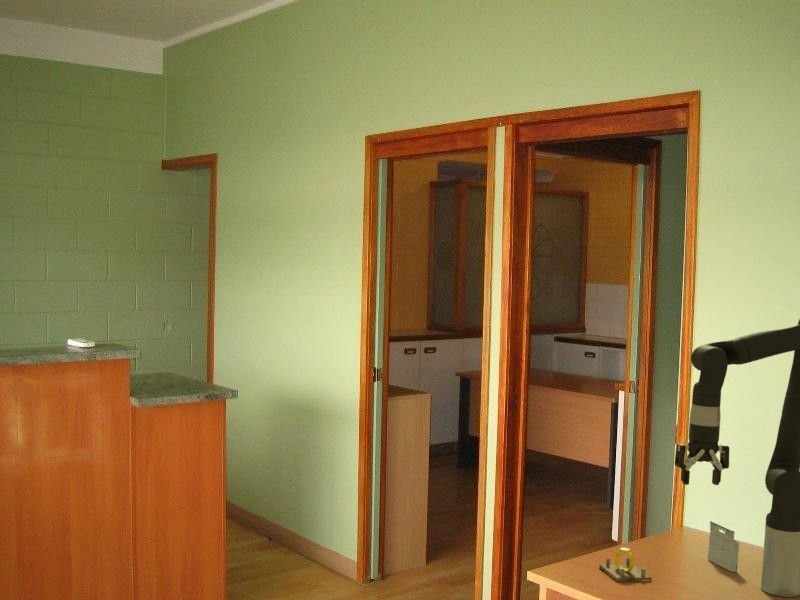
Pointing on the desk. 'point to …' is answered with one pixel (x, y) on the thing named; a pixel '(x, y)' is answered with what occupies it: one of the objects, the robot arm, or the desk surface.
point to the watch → (627, 550)
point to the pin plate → (624, 576)
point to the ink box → (723, 547)
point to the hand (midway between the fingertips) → (700, 484)
